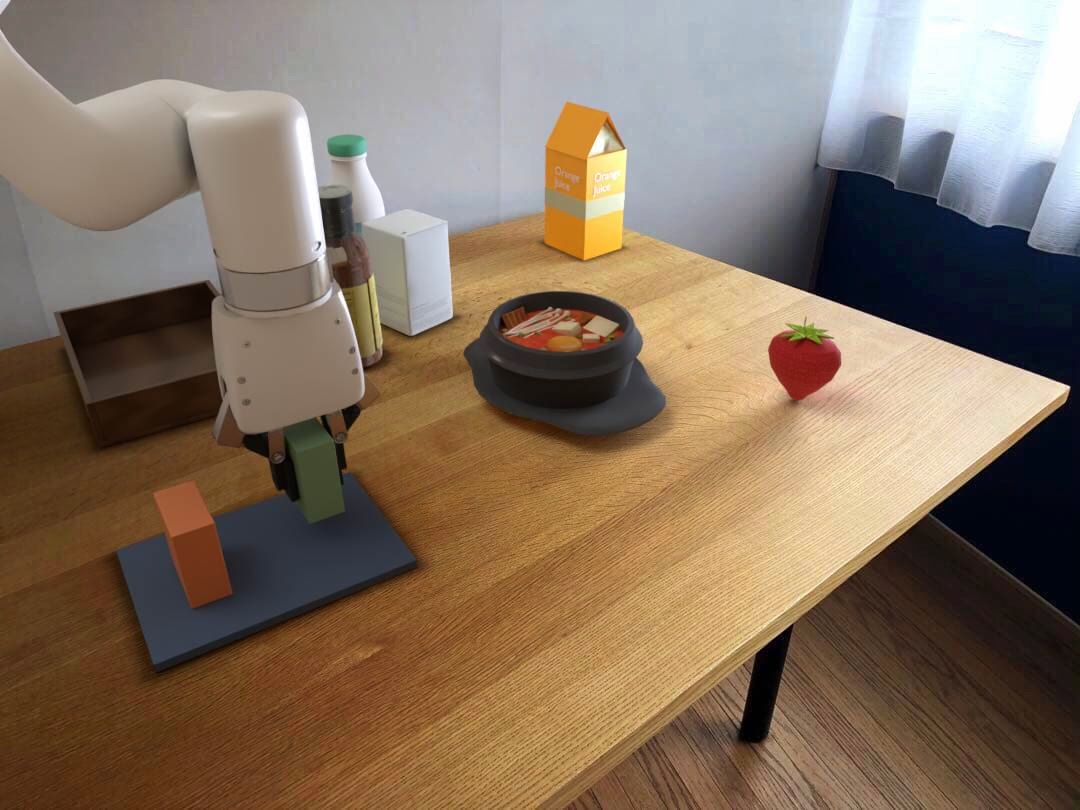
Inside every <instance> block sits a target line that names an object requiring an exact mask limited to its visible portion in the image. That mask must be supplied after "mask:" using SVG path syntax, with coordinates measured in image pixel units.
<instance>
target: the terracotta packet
mask: <svg viewBox="0 0 1080 810" xmlns="http://www.w3.org/2000/svg"><path fill="white" fill-rule="evenodd" d="M153 498H154V501H155V505H156V508H157V512H158V515H159V519H160V522H161V525H162V528H163V531H164V534H165V536H166V539H167V542H168V546H169V549H170V553H171V556H172V559H173V563H174V565H175V568H176V570H177V573H178V575H179V578H180V580H181V583H182V585H183V588H184V591H185V593H186V596H187V598H188V601H189V603H190V606H191V608H192V609H194V608H197V607H200V606H202V605H205V604H207V603H210V602H213V601H215V600H218V599H221V598H223V597H226V596H229V595H231V594H232V590H231V586H230V582H229V578H228V574H227V570H226V566H225V562H224V558H223V554H222V550H221V546H220V542H219V538H218V534H217V530H216V526H215V523H214V520H213V517H212V515H211V512H210V511H209V508H208V506H207V504H206V502H205V500H204V497H203V496H202V494H201V491H200V490H199V488H198V486H197V483H196V481H195V480H191V481H187V482H184V483H181V484H177V485H174V486H171V487H168V488H165V489H161V490H158V491H154V492H153Z"/></svg>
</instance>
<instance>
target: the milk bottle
mask: <svg viewBox="0 0 1080 810" xmlns="http://www.w3.org/2000/svg"><path fill="white" fill-rule="evenodd" d="M326 147H327V153H328V158H329V159H330V162H331V163H330V164H331V167H330V174H329V178H328V182H327V185H345V186H348V187H349V188H350V189H351V191H352V195H353V203H352V211H353V217H354V222H355V225H356V232H357V233H358V235H359V236H360V237H361V238H362V239H363V240H364V237H363V228H362V223H365V222H368V221H371V220H374V219H377V218H380V217H383V216H386V210H385V205H384V200H383V197H382V194H381V190H380V189H379V187H378V185H377V183H376V182H375V180H374V179H373V176H372V175H371V172H370V170H369V168H368V164H367V161H366V158H367V157H368V154H367V140H366V139H365V137H363V136H362V135H358V134H339V135H335V136H331V137H329V138H328V139H327V140H326ZM327 185H326V186H327Z"/></svg>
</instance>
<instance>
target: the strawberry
mask: <svg viewBox="0 0 1080 810" xmlns="http://www.w3.org/2000/svg"><path fill="white" fill-rule="evenodd" d="M807 318H808V316H807V315H806V316H805V317H804V322H803V325H802V324H799V325H796V324H793V323H792V324H791V323H788V322H785V323H784V324H785V325H786V326H787V327H788V328H790V329H788V330H784V331H781V332H780V333H777V335H774V336H773V337H772V339H771V340H770V343H769V346H768V348H767V352H768V360H769V364H770V368H771V370H772V371H773V373H774V375H775V376H776V379H777V380H778V382H779V383H780V385H781V386H782V388H784V390H785V391H786V392H787V395H788V396H789V397H790V398H791V399H792V400H794V401H803V400H804V399H806V398H807V397H808V396H810V395H812V394H813V393H816V392H818V391H820V390H821V389H822V388H824V387H825V386H826V385H828V384H829V383H831V381H833V380H834V378H835V376H836V375H837V373H838V371H839V370H840V368H841V366H842V352H841V350H840V349H839V347H838V346H837V345H836V343H835V342H834V341H832V340H834V339H835V337H833V336H830V335H828V334H825V333H827V332H829V329H823V328H815V322H812V323H810V324H808V325H807V326H806V321H807Z"/></svg>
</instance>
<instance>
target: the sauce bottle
mask: <svg viewBox="0 0 1080 810" xmlns="http://www.w3.org/2000/svg"><path fill="white" fill-rule="evenodd" d="M318 193H319V200H320V207H321V215H322V222H323V229H324V237H325V244H326V246H327V247H328V248H331V247H332V248H333V249H335V248H340V247H342V248H343V249H344V250H345V252H346V256H347V265H343V266H339V267H338V269H334V274H333V278H334V279H335V280H336V282H337V283H338V284H339V286H340V289H341V291H342V294H343V296H344V299H345V302H346V305H347V308H348V311H349V314H350V318H351V321H352V324H353V328H354V332H355V336H356V340H357V344H358V348H359V353H360V357H361V362H362V368H363V369H364V368H367V367H370V366H372V365H375V364H377V363H378V362H379V361H380V360H381V359H382V357H383V341H384V340H383V333H382V327H381V323H380V318H379V311H378V304H377V296H376V288H375V281H374V273H373V270H372V266H371V258H370V252H369V249H368V247H367V245H366V244H365V242H364V240H363V239H362V238H361V237H360V236H359V235H358V233H357V232H356V225H355V222H354V217H353V211H352V203H353V195H352V191H351V189H350V188H349V187H348V186H345V185H322V186H318Z"/></svg>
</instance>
